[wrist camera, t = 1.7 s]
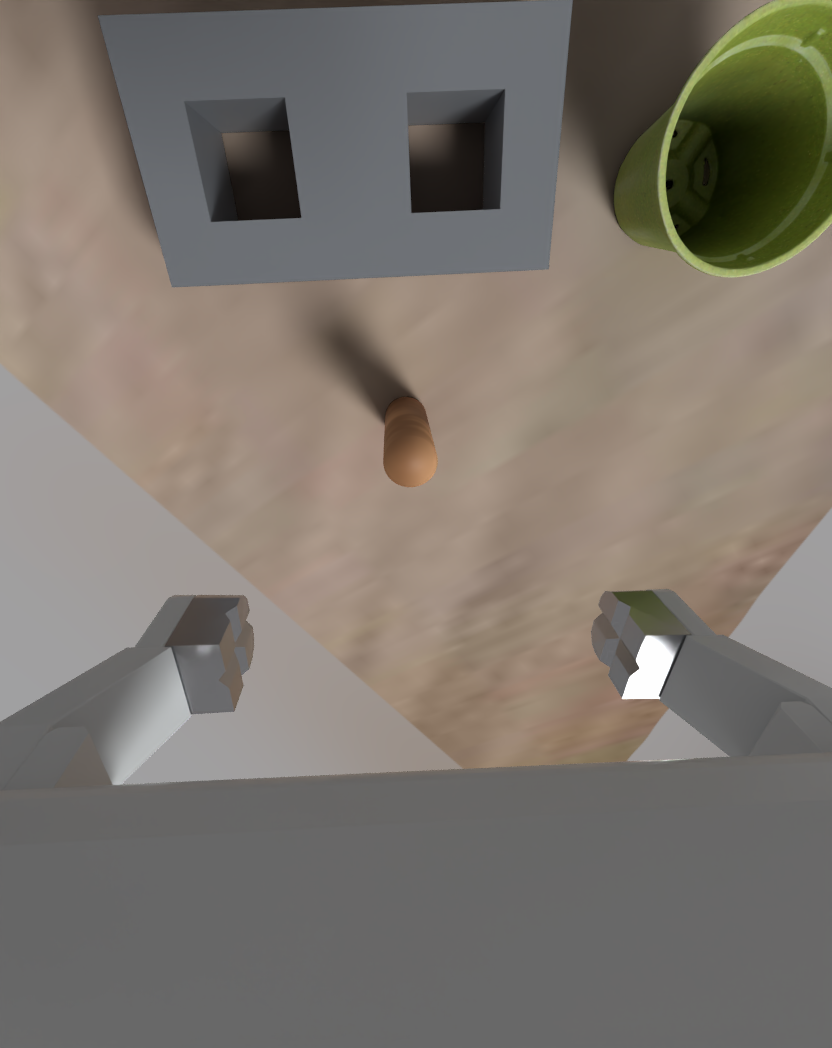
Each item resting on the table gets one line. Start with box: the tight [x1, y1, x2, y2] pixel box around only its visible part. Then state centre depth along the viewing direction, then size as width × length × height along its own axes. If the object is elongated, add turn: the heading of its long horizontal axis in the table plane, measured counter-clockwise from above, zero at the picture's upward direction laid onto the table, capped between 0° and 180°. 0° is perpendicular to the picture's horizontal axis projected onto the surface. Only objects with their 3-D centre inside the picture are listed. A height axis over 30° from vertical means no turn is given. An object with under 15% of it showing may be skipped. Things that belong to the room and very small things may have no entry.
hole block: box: [98, 0, 573, 287], centre depth 23 cm, size 20×10×5 cm, turn 92°
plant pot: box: [614, 0, 832, 277], centre depth 23 cm, size 9×9×9 cm
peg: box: [383, 397, 438, 487], centre depth 28 cm, size 3×3×9 cm
